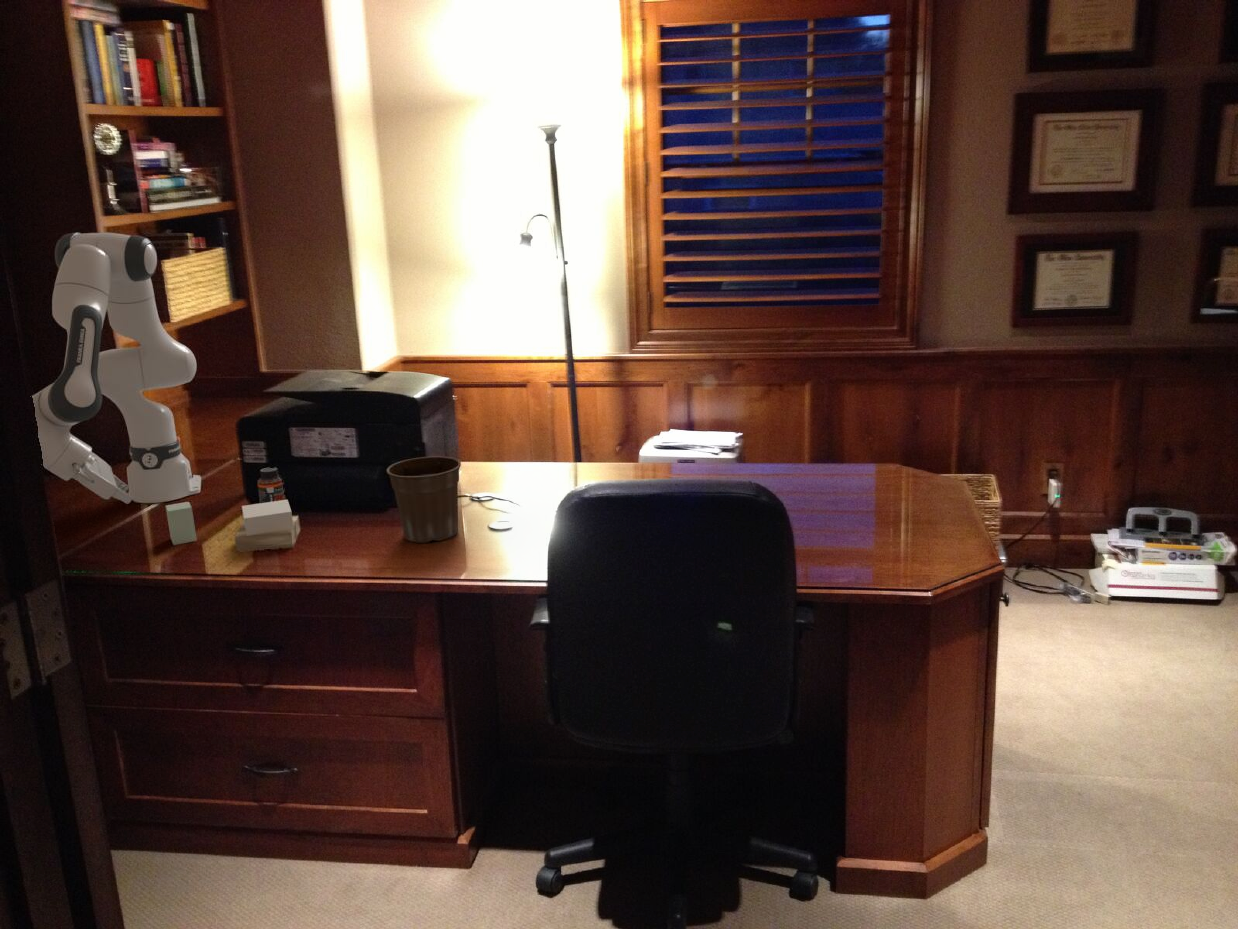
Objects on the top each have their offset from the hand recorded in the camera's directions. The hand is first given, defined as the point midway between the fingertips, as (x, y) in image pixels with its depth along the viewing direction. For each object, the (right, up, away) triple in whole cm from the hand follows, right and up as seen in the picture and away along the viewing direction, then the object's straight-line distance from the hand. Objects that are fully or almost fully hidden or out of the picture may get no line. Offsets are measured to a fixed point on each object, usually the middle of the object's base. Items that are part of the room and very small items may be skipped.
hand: (128, 495), depth 245 cm
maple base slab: (+30, -11, +5) cm, 32 cm away
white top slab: (+30, -7, +4) cm, 31 cm away
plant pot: (+66, -9, +4) cm, 67 cm away
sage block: (+9, -10, +8) cm, 16 cm away
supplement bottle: (+25, -5, +23) cm, 35 cm away
